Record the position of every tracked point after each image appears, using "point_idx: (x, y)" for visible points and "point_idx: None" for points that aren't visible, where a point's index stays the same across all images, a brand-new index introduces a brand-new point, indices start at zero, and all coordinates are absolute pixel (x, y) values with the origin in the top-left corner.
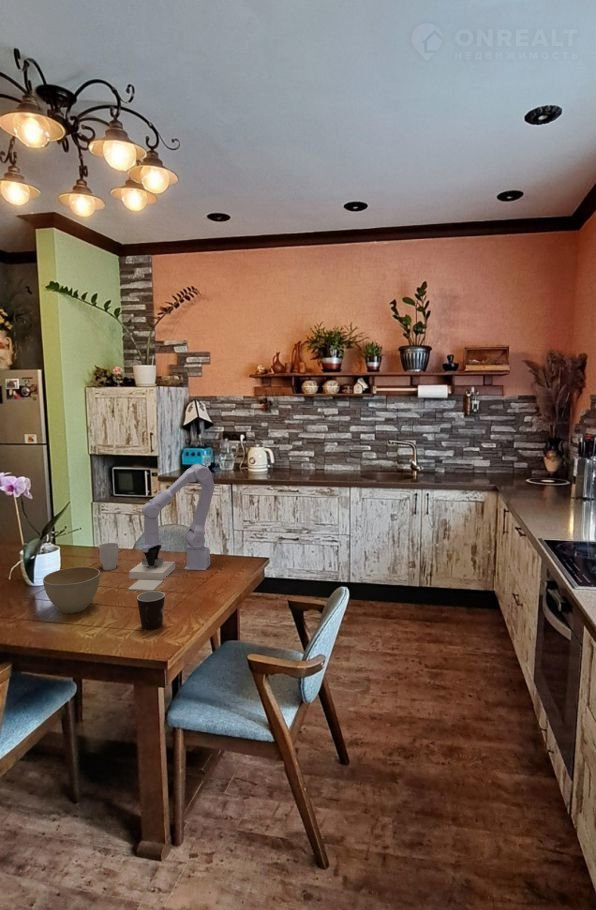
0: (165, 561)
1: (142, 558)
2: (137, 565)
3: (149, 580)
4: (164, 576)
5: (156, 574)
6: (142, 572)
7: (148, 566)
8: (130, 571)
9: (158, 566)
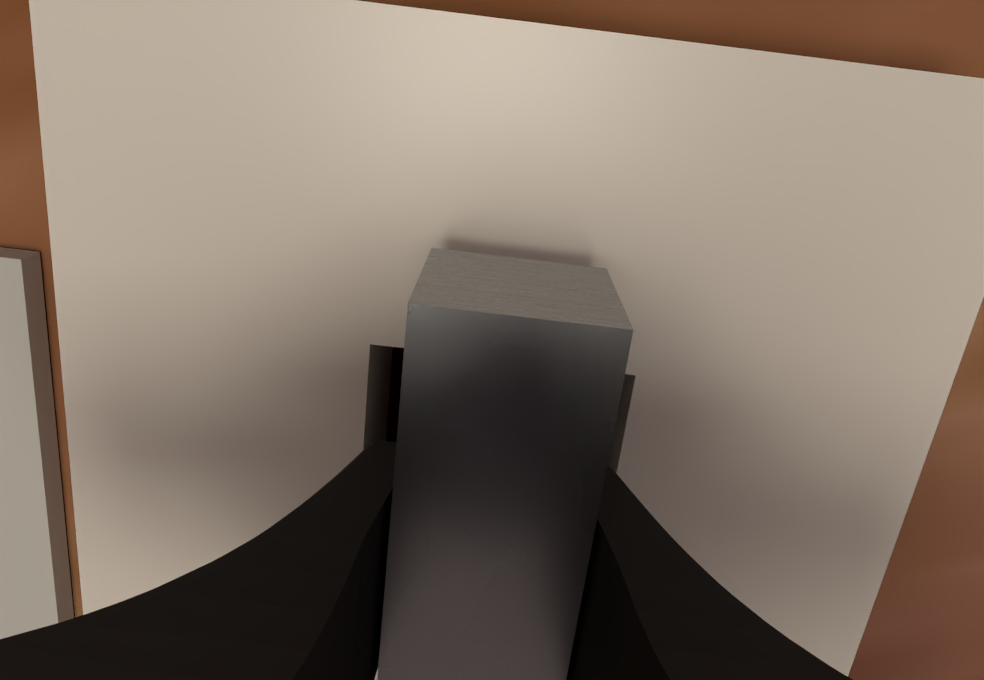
0: (852, 655)
1: (461, 310)
2: (581, 45)
3: (16, 471)
4: None
5: None
6: (63, 348)
7: None
8: (31, 7)
9: None
